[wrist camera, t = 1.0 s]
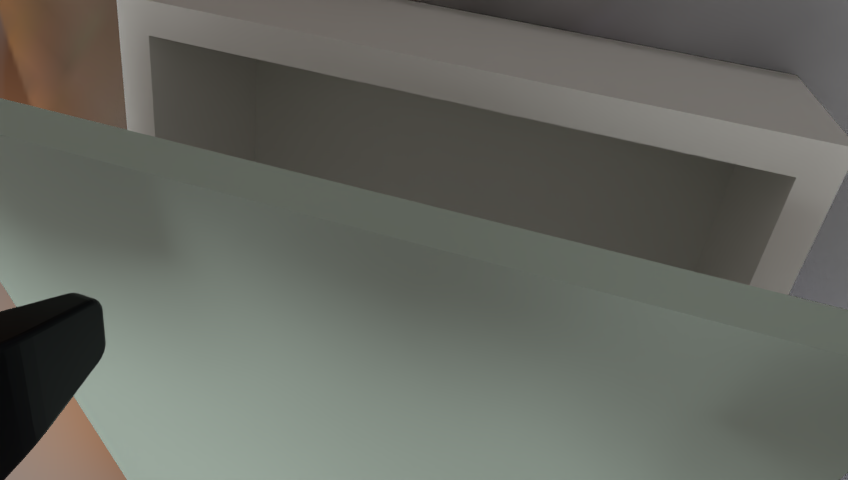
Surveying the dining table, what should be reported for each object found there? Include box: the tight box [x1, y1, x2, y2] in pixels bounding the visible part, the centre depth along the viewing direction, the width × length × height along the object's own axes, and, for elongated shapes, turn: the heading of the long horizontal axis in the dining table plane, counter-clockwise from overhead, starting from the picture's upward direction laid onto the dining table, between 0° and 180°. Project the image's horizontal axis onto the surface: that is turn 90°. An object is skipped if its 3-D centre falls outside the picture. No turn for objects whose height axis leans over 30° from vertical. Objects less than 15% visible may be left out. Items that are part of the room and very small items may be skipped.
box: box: [117, 0, 848, 295], centre depth 21 cm, size 16×16×6 cm
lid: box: [0, 98, 848, 480], centre depth 16 cm, size 16×16×1 cm
